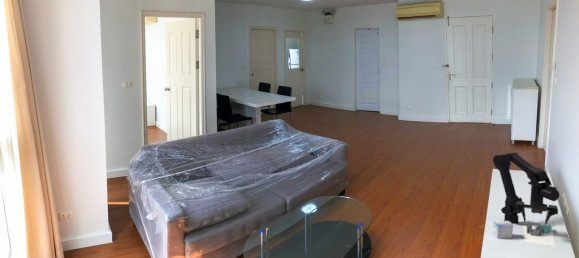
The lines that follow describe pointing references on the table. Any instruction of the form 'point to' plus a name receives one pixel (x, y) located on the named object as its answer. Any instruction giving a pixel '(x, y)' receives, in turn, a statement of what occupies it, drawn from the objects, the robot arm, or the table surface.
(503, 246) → the table surface
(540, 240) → the gear board
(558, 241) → the table surface
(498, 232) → the medicine box
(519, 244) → the table surface
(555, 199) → the robot arm
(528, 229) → the gear
